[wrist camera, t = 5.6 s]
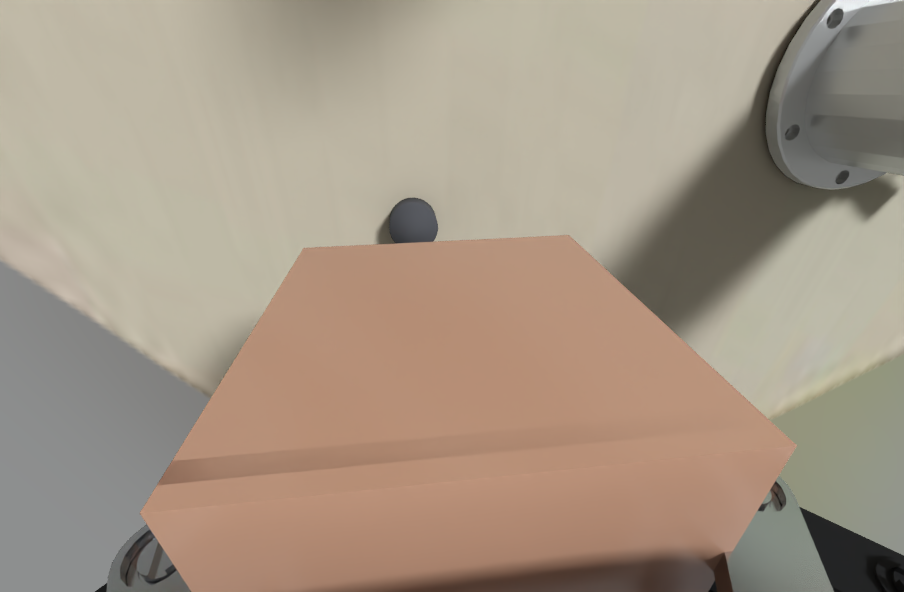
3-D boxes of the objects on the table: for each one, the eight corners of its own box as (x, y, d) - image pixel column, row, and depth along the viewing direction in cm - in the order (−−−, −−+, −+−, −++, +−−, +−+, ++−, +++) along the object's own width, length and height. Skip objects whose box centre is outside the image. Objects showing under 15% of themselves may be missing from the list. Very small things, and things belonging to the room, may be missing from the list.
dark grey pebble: (443, 210, 24) (446, 218, 22) (422, 248, 25) (424, 258, 23) (402, 189, 23) (402, 195, 22) (382, 229, 24) (381, 238, 23)
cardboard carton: (568, 235, 10) (796, 445, 4) (542, 420, 14) (650, 686, 8) (303, 247, 10) (139, 513, 4) (343, 438, 13) (291, 742, 7)
